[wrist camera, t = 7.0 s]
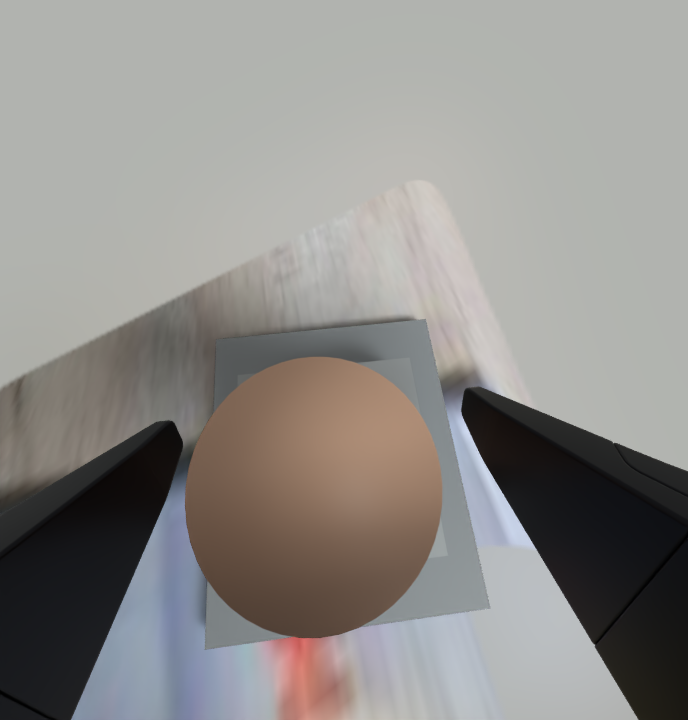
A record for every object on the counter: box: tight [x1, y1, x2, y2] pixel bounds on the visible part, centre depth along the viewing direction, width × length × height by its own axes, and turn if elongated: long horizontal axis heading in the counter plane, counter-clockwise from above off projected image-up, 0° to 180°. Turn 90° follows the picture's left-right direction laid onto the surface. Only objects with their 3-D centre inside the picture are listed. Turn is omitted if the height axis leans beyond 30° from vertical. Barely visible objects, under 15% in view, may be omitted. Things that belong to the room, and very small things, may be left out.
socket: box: [205, 319, 490, 650], centre depth 15 cm, size 16×14×4 cm
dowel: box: [185, 357, 442, 638], centre depth 10 cm, size 4×4×12 cm
